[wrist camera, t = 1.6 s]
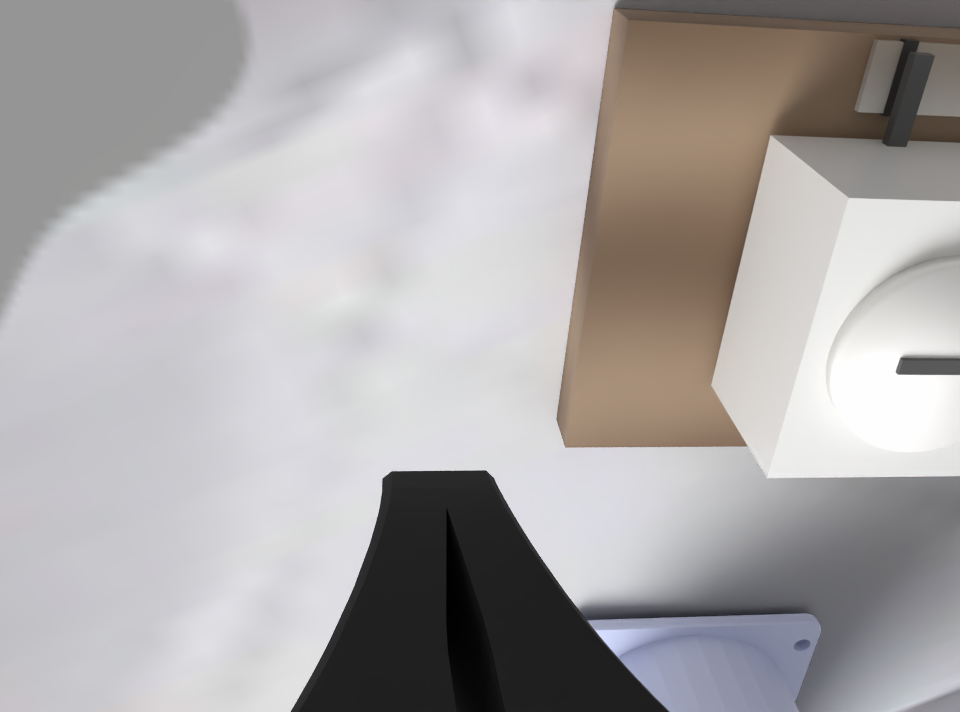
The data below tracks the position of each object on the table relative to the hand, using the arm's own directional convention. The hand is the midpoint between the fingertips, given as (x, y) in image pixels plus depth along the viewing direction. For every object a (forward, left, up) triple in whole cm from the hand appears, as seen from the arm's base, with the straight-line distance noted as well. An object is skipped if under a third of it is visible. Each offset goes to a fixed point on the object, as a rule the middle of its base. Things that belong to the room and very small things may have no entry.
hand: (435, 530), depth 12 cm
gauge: (+1, -11, -8) cm, 14 cm away
